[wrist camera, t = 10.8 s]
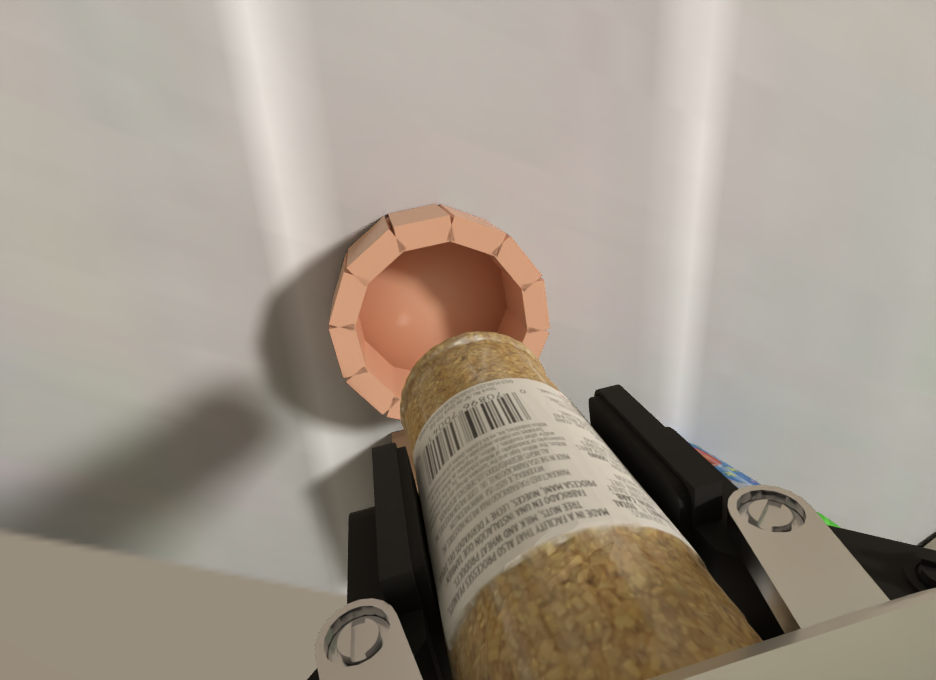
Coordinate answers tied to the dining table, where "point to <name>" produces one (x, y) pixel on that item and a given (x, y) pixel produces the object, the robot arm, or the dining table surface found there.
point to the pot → (428, 296)
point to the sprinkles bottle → (547, 531)
